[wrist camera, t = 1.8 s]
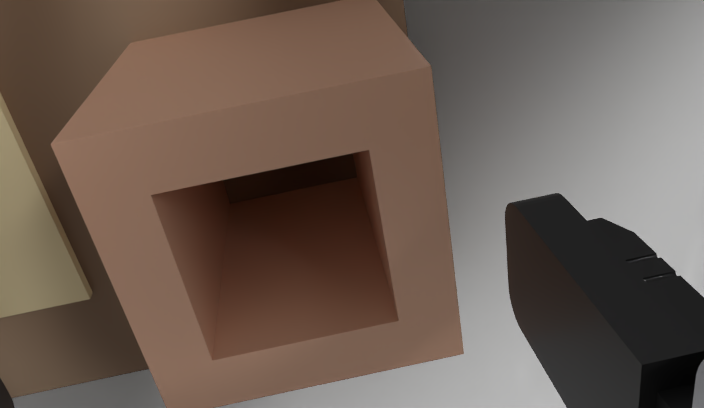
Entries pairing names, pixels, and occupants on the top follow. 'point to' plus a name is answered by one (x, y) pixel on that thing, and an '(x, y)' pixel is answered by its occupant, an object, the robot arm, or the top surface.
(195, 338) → the sleeve
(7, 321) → the post board
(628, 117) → the top surface
